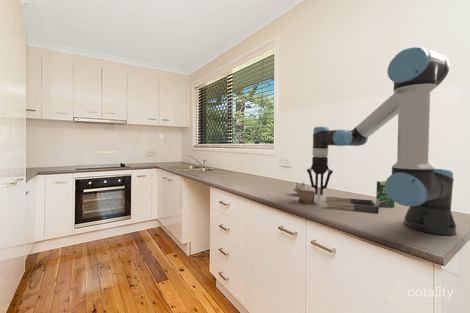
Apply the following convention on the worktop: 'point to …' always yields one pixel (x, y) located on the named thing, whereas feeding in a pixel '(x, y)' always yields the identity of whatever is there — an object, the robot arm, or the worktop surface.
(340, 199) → the channel
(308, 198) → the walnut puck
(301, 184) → the grey succulent plant
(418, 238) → the worktop surface
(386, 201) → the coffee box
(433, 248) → the worktop surface
